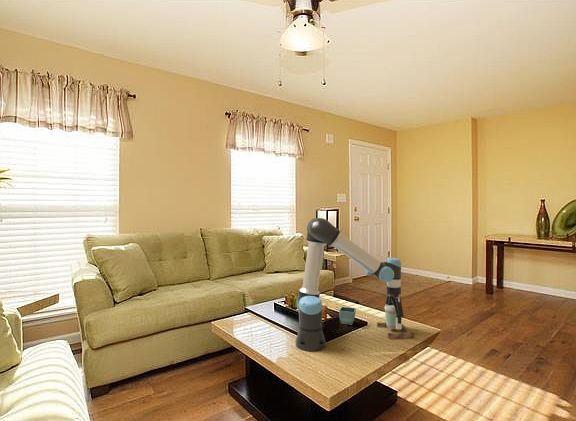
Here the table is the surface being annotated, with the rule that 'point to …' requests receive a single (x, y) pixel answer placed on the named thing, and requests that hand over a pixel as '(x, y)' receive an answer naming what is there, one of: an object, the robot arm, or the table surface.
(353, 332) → the table surface
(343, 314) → the flower pot
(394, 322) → the coffee cup
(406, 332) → the bay
